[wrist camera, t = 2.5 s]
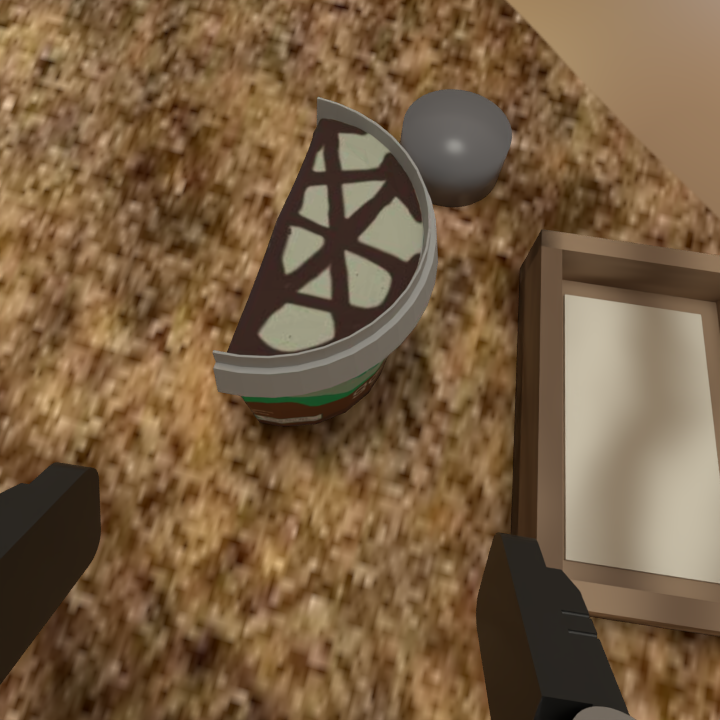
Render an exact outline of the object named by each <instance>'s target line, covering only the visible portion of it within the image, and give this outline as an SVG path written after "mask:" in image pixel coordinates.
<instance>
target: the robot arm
mask: <svg viewBox="0 0 720 720" xmlns="http://www.w3.org/2000/svg"><path fill="white" fill-rule="evenodd" d="M100 534H101V523H100V495H99V476H98V472H97V470H96V469H94V468H90V467H84V466H78V465H71V464H65V463H58V462H56V463H53V464H51V465H50V466H49V467H48V468H47V469H46V470H44V471H43V472H42V473H41V474H40V475H39V476H38V477H37V478H36V479H35V480H34V481H32V482H31V483H30V484H24V483H21V484H19V485H17V486H14V487H12V488H10V489H8V490H6V491H4V492H2V493H0V684H1V683H2V682H3V680H4V679H5V678H6V676H7V675H8V674H9V672H10V671H11V670H12V668H13V667H14V666H15V664H16V663H17V661H18V660H19V659H20V657H21V656H22V655H23V653H24V652H25V651H26V649H27V648H28V647H29V645H30V644H31V643H32V641H33V640H34V639H35V637H36V636H37V635H38V633H39V632H40V631H41V629H42V628H43V627H44V625H45V624H46V623H47V621H48V620H49V618H50V617H51V616H52V614H53V613H54V612H55V610H56V609H57V608H58V606H59V605H60V604H61V602H62V601H63V600H64V598H65V597H66V596H67V594H68V593H69V592H70V590H71V589H72V588H73V586H74V585H75V584H76V582H77V581H78V579H79V578H80V577H81V575H82V574H83V573H84V571H85V570H86V569H87V567H88V566H89V565H90V563H91V562H92V560H93V558H94V556H95V554H96V551H97V548H98V545H99V541H100ZM476 624H477V632H478V638H479V645H480V651H481V658H482V664H483V670H484V677H485V683H486V690H487V696H488V703H489V709H490V716H491V720H636V719H634V718H632V717H631V716H630V715H629V713H628V710H627V707H626V705H625V702H624V700H623V697H622V695H621V692H620V690H619V687H618V685H617V682H616V680H615V677H614V675H613V672H612V670H611V667H610V665H609V662H608V660H607V657H606V655H605V652H604V650H603V647H602V645H601V642H600V640H599V639H597V632H596V630H595V627H594V625H593V622H592V620H591V619H589V612H588V610H587V607H586V605H585V602H584V600H583V597H582V594H581V592H580V590H579V589H578V588H577V587H576V586H575V585H574V583H573V582H572V581H571V580H570V579H569V578H568V576H567V575H566V574H565V573H564V572H563V571H562V570H561V569H555V568H549V567H546V564H545V561H544V558H543V555H542V552H541V550H540V547H539V544H538V541H537V540H536V539H535V538H529V537H523V536H517V535H510V534H504V533H496V534H495V536H494V538H493V541H492V545H491V548H490V552H489V556H488V560H487V563H486V567H485V571H484V574H483V578H482V582H481V585H480V589H479V593H478V598H477V608H476Z"/></svg>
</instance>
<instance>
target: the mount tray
mask: <svg viewBox="0 0 720 720" xmlns="http://www.w3.org/2000/svg"><path fill="white" fill-rule="evenodd" d="M511 535H517V536H523V537H529V538H535V539H536V540H537V541H538V544H539V547H540V550H541V552H542V555H543V558H544V561H545V564H546V567H549V568H555V569H561V570H562V571H563V572H564V573H565V574H566V575H567V576H568V578H569V579H570V580H571V581H572V582H573V583H574V585H575V586H576V587H577V588H578V589H579V590H580V592H581V594H582V597H583V600H584V602H585V605H586V607H587V610H588V612H589V616H590V617H597V618H603V619H610V620H616V621H622V622H629V623H635V624H641V625H648V626H654V627H660V628H667V629H673V630H680V631H686V632H692V633H699V634H705V635H711V636H718V637H720V256H718V255H712V254H705V253H698V252H691V251H685V250H678V249H671V248H664V247H657V246H651V245H644V244H637V243H630V242H624V241H617V240H610V239H603V238H596V237H590V236H583V235H576V234H569V233H563V232H556V231H549V230H541V232H540V234H539V236H538V237H537V239H536V241H535V243H534V244H533V246H532V248H531V250H530V252H529V253H528V255H527V257H526V259H525V261H524V262H523V264H522V266H521V268H520V285H519V314H518V344H517V373H516V402H515V432H514V461H513V490H512V519H511Z"/></svg>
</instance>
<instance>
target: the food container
mask: <svg viewBox="0 0 720 720" xmlns="http://www.w3.org/2000/svg"><path fill="white" fill-rule="evenodd" d="M437 265H438V255H437V234H436V219H435V215H434V210H433V206H432V201H431V198H430V196H429V193H428V191H427V189H426V186H425V184H424V181H423V179H422V177H421V175H420V172H419V170H418V168H417V166H416V165H415V163H414V162H413V160H412V159H411V157H410V156H409V154H408V153H407V151H406V150H405V149H404V148H403V147H402V146H401V145H400V144H399V142H398V141H397V140H396V139H395V138H394V137H393V136H392V135H391V134H389V133H388V132H387V131H386V130H385V129H383V128H382V127H381V126H380V125H378V124H377V123H376V122H374V121H372V120H371V119H369V118H368V117H366V116H364V115H363V114H361V113H359V112H357V111H355V110H353V109H351V108H348V107H346V106H344V105H341V104H339V103H336V102H333V101H330V100H327V99H323V98H320V97H318V98H317V128H316V129H315V131H314V133H313V138H312V141H311V144H310V147H309V150H308V152H307V155H306V157H305V159H304V162H303V164H302V167H301V169H300V171H299V174H298V176H297V178H296V180H295V183H294V185H293V187H292V190H291V192H290V194H289V196H288V198H287V200H286V202H285V204H284V206H283V208H282V211H281V213H280V215H279V217H278V219H277V221H276V224H275V227H274V230H273V233H272V236H271V239H270V241H269V244H268V247H267V250H266V253H265V256H264V259H263V261H262V264H261V267H260V269H259V272H258V275H257V277H256V280H255V283H254V286H253V288H252V291H251V293H250V296H249V298H248V301H247V303H246V306H245V308H244V311H243V313H242V316H241V318H240V321H239V323H238V326H237V328H236V331H235V333H234V336H233V338H232V341H231V343H230V346H229V349H228V351H227V353H226V352H220V351H215V350H213V355H214V358H215V361H216V363H215V366H214V373H215V379H216V384H217V389H218V392H223V393H228V394H234V395H239V396H241V397H242V398H243V400H244V401H245V402H246V404H247V405H248V407H249V408H250V409H251V411H252V412H253V414H254V415H255V416H256V418H257V419H258V421H259V422H261V423H266V424H272V425H277V426H283V427H286V426H297V425H309V424H317V423H320V422H322V421H325V420H327V419H330V418H332V417H335V416H337V415H339V414H342V413H344V412H346V411H347V410H349V409H350V408H351V407H352V406H353V405H355V404H356V403H357V402H358V401H359V400H361V399H362V398H363V397H364V396H365V395H367V394H368V393H369V391H370V390H371V388H372V386H373V385H374V383H375V382H376V380H377V379H378V377H379V376H380V374H381V371H382V369H383V366H384V364H385V361H386V359H387V357H388V355H389V354H390V353H391V352H393V351H394V350H395V349H396V348H397V347H398V346H400V345H401V343H402V342H403V341H404V340H405V338H406V337H407V336H408V335H409V334H410V332H411V331H412V330H413V329H414V328H415V326H416V325H417V323H418V321H419V319H420V318H421V316H422V314H423V312H424V311H425V309H426V307H427V305H428V302H429V299H430V296H431V293H432V291H433V288H434V285H435V279H436V272H437Z"/></svg>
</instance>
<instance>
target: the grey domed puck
mask: <svg viewBox="0 0 720 720" xmlns="http://www.w3.org/2000/svg"><path fill="white" fill-rule="evenodd" d="M511 140H512V131H511V126H510V123H509V121H508V119H507V117H506V116H505V114H504V113H503V112H502V111H501V109H500V108H499V107H498V106H496V105H495V104H494V103H493V102H491V101H490V100H488V99H486V98H484V97H482V96H480V95H478V94H475V93H472V92H468V91H463V90H439V91H435V92H431V93H428V94H426V95H424V96H422V97H420V98H419V99H417V100H416V101H415V102H414V103H413V104H412V105H411V106H410V107H409V109H408V110H407V112H406V114H405V117H404V121H403V128H402V135H401V141H400V145H401V146H402V147H403V148H404V149H405V150H406V151H407V153H408V154H409V156H410V157H411V159H412V160H413V162H414V163H415V165H416V166H417V168H418V170H419V172H420V175H421V177H422V179H423V181H424V184H425V186H426V189H427V191H428V193H429V196H430V198H431V201H432V204H435V205H439V206H445V207H461V206H466V205H470V204H473V203H476V202H478V201H480V200H481V199H483V198H484V197H486V196H487V195H488V194H489V193H490V192H491V190H492V189H493V187H494V186H495V184H496V181H497V178H498V176H499V173H500V171H501V168H502V166H503V163H504V160H505V158H506V155H507V153H508V150H509V147H510V144H511Z"/></svg>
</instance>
